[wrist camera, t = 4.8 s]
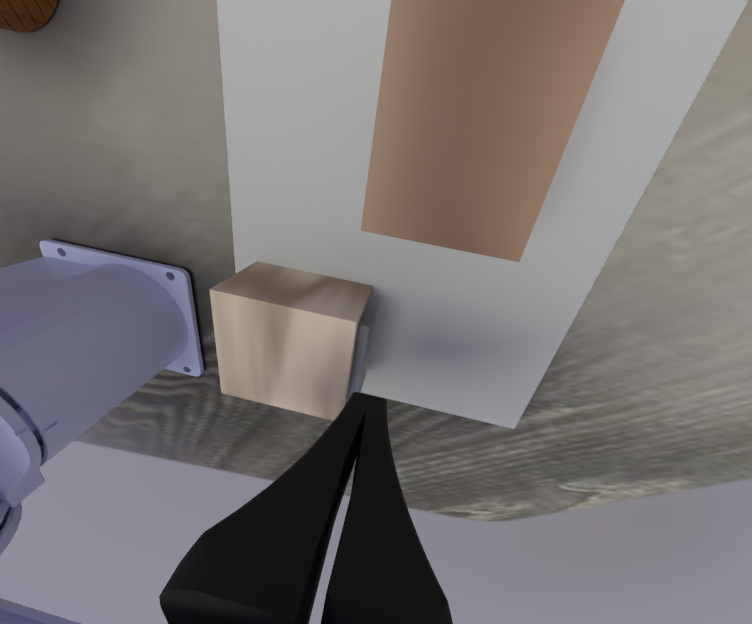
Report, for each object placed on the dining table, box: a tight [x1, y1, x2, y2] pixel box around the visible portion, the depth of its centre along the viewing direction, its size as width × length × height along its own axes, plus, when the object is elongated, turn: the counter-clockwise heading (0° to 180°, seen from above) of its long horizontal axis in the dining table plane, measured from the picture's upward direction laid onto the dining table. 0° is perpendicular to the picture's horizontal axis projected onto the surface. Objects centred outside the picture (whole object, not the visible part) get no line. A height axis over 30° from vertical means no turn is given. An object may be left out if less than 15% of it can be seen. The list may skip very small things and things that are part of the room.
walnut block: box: [361, 0, 625, 262], centre depth 9 cm, size 4×6×7 cm, turn 171°
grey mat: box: [217, 0, 748, 429], centre depth 15 cm, size 18×21×1 cm
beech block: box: [209, 261, 380, 421], centre depth 16 cm, size 4×6×7 cm
